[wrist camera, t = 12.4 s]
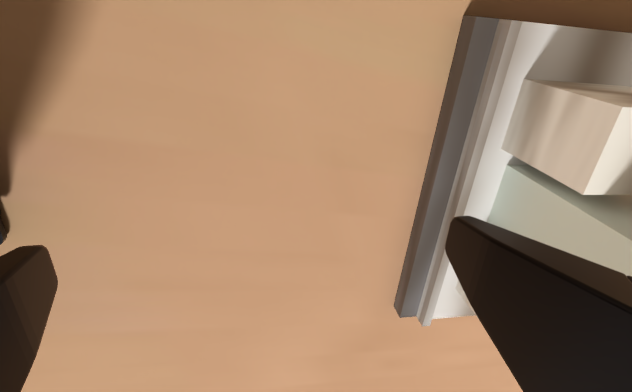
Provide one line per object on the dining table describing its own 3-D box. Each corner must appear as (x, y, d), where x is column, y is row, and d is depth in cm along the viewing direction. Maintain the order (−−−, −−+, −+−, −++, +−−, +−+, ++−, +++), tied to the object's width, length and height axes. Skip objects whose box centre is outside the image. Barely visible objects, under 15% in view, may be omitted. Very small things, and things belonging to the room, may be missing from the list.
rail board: (393, 306, 29) (442, 397, 22) (463, 15, 20) (578, 25, 14) (549, 294, 32) (632, 371, 26) (669, 37, 23) (844, 54, 17)
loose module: (484, 228, 25) (642, 370, 16) (506, 164, 23) (702, 283, 14) (556, 226, 26) (742, 357, 17) (582, 165, 24) (810, 275, 15)
